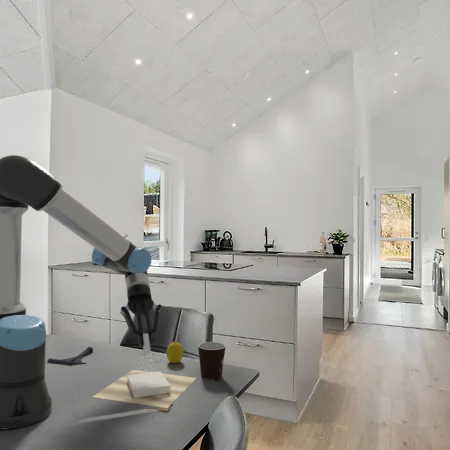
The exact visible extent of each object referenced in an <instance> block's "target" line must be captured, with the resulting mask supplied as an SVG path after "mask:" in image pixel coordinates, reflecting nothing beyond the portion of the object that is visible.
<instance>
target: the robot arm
mask: <svg viewBox="0 0 450 450" xmlns="http://www.w3.org/2000/svg"><path fill="white" fill-rule="evenodd" d="M29 207H30V208H32V209H33V210H35V212H42V211H43V212H44V213H46V214H47V215H48V216H49V217H51V218H53V219H54V220H55V221H57V222H58V223H60V224H61V225H62V226H64V227H65V228H66V229H68V230H70V231H71V232H72V233H73V234H75V235H76V236H78V237H79V238H81V239H82V240H83V241H85V242H86V243H88V244H89V245H90V246H92V247H93V251H92V253H91V261H92V262H93V263H94V264H96V265H98V266H99V267H103V268H105V269H108V270H111V271H114V272H117V273H119V274H121V275H124V278H125V279H124V280H125V287H126V294H127V295H126V296H127V304H126V305H125V306H123V305H122V306H121V307H120V312H119V313H120V315H122V317H123V318H124V319H125V322H126V325H127V327H128V330H129V332H130V335H131V337H136V338H137V340H138V346H139V347H140V348H142V350H143V358H144V359H150V358H151V354H152V353H151V351H152V350H151V347H152V345H153V336H156V334H157V331H158V323H159V315H160V314H159V313H160V312H161V309H162V304H156V303H155V302H154V300H153V299H152V292H151V286H150V285H151V284H150V280H149V274H148V271H149V268H150V267H151V264H152V254H151V253H150V251H149V250H147V249H146V248H142V247H137V246H136V245H135V244H133V243H132V242H131V241H129V239H126V238H125V237H124V236H123V235H122V234H120V233H119V232H118V231H117V230H116V229H114V228H112V226H111V225H109V224H108V223H107V222H105V221H104V220H102V219H101V217H99V215H97V214H95V213H94V212H92V211H91V210H90V209H89V208H87V206H85V205H84V204H83V203H82V202H80V201H79V200H77V198H75V197H74V196H72V195H71V194H70V193H69V192H67V191H66V190H65V189H64V188H63V183H62V182H61V181H60V180H58V179H57V178H56V177H55V176H54V175H52V174H51V173H50V172H48V171H47V170H46V169H45V168H43V167H42V166H41V165H39V164H38V163H36V162H35V161H34V160H32V159H30V158H27V157H25V156H21V155H16V154H15V155H7V156H3V157H1V158H0V428H14V429H19V428H18V427H20V428H23V427H27V426H30V425H34V424H36V423H38V422H41V421H43V419H46V418H47V417H48V416H49V415H51V413H52V410H53V400H52V397H51V396H50V393H49V390H48V389H49V388H48V386H47V383H46V377H45V376H46V351H47V350H46V347H47V346H46V345H47V343H46V341H47V336H48V334H47V330H46V327H47V326H46V323H45V321H44V320H43V319H42V318H40V317H38V316H35V315H27V307H26V306H25V305H24V304H23V303H22V302H21V278H22V277H21V275H22V274H21V272H22V271H21V270H22V267H21V265H22V233H23V232H22V228H23V227H22V225H23V223H22V222H23V215H24V214H25V213H26V212H27V211H28V210H29ZM152 310H153V311H152ZM151 311H152V312H154V314H153V320H152V325H151V320H150V312H151ZM130 312H131V313H132V314H133V315H134V319H135V323H134V321H133V317H132V316H131V313H130ZM142 316H143V321H144V329H145V333H144V331H143V323H142V322H143V321H142ZM135 325H136V326H135Z"/></svg>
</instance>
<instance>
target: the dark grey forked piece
mask: <svg viewBox="0 0 450 450" xmlns="http://www.w3.org/2000/svg"><path fill="white" fill-rule="evenodd" d="M93 352H94V349H93V347H91V346H88V347H86V349H84V350H83V351H82V352H80V354H78V355H76V356H72V357H69V358H62V359H61V358H60V359H58V358H57V359H56V358H48V360H47V363H49V364H50V363H51V364H57V365H58V364H59V365H67V366H80V365H87V363H86V362H83V361H82V359H83V358H84V357H86V356H87V355H90V354H92V353H93Z"/></svg>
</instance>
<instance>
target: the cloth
mask: <svg viewBox="0 0 450 450" xmlns="http://www.w3.org/2000/svg"><path fill="white" fill-rule="evenodd" d="M150 372H151V371H145V370H144V371H143V370H136V369H132V370H129V372H127V373H126V374H124V375H123V376H122V377H119V378H118V379H117V380H115V381H113V383H112V382H111V384H109V385H108V386H106V387H105V388H104V389H102V390H100V391H99V392H97V393H96V394H94V395H93V396H92V398H94V399H103V400H107V401H108V400H109V401H115V402H122V403H129V404H136V405H141V406H143V405H144V406H150V407H148V409H149V410H156V411H165V412H168V411H169V410H170V409H171V408H172V407H173V406H174V405H175V404H174V402H175V401H176V400H177V399H178V398H179V397H180V396H181V395H182V394H183V393H184V392H185V391H186V389H188V387H189V386H191V385H192V383H193V382H195V381H196V379H197V377H194V376H186V375H177V374H168V373H162V374H163V375H164V377H165V378H166V380H167V381H168V383H169V384H170V386H171V388H170V393H166V394H159V395H151V396H144V397H137V398H134V397H133V395H132V392H131V390H130V387H129V385H128V383H127V375H133V374H142V373H150Z"/></svg>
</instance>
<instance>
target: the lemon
mask: <svg viewBox="0 0 450 450" xmlns="http://www.w3.org/2000/svg"><path fill="white" fill-rule="evenodd" d="M183 357H184V349H183V346H182V345H181V343H179V342H177V341H176V340H175V341H173V342H171V343H170V344H169V345H168V347H167V349H166V358H167V360H168V361H169V362H170V363H171V364H178V363H180V362H181V361H182V360H183Z"/></svg>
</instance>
